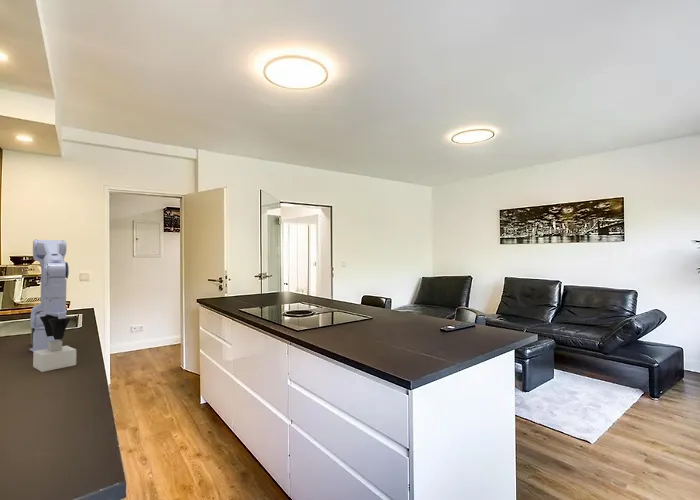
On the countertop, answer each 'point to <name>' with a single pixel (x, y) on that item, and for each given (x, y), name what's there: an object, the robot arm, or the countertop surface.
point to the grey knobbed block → (54, 357)
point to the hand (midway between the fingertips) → (54, 337)
